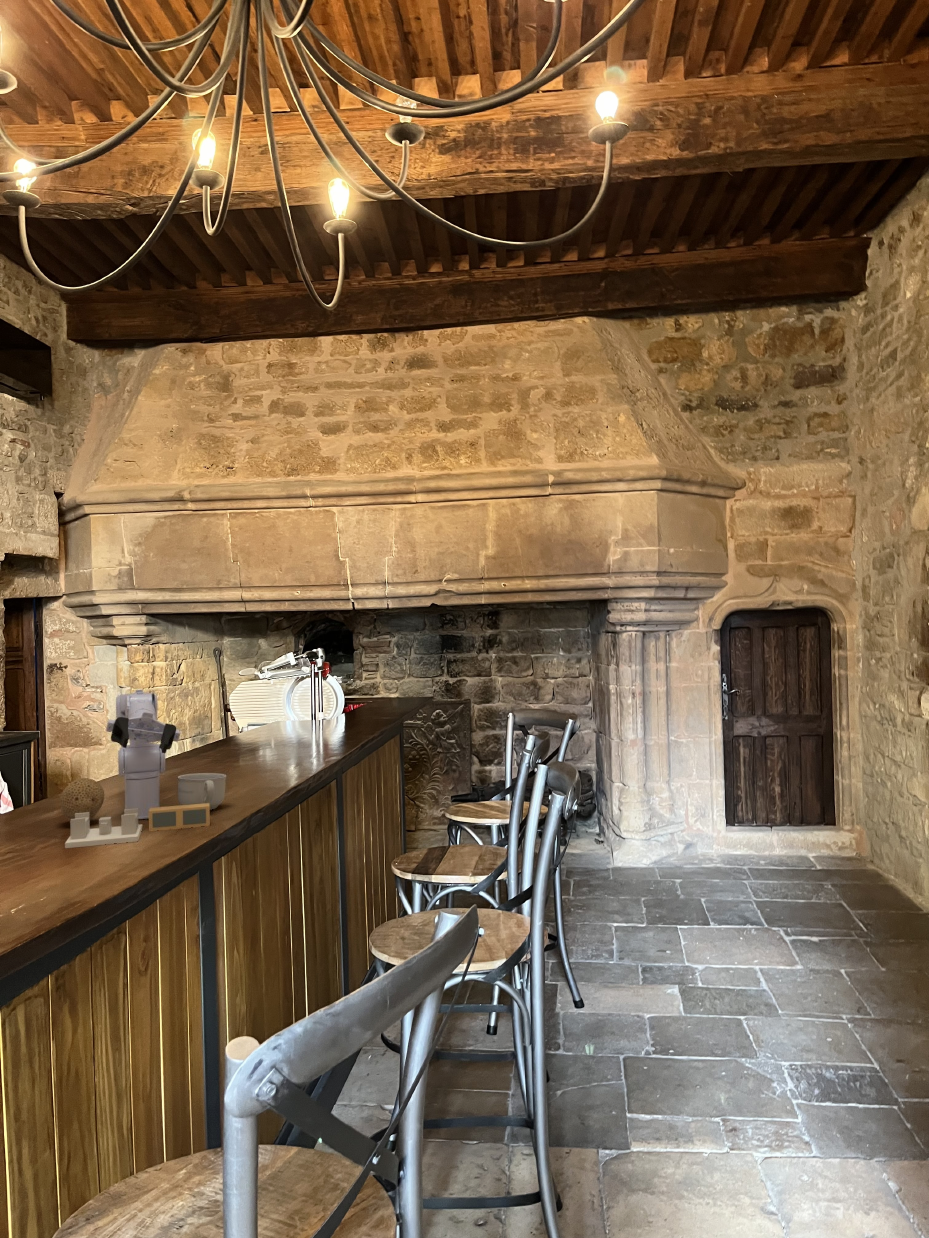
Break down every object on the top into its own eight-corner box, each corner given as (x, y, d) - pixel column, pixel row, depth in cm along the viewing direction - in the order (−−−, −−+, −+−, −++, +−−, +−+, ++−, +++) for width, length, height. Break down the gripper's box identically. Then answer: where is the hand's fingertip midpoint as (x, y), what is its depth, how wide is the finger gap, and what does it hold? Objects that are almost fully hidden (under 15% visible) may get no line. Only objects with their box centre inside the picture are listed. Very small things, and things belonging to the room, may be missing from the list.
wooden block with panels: (150, 828, 169) (150, 807, 169) (209, 823, 173) (209, 803, 173) (149, 832, 166) (148, 811, 166) (209, 827, 170) (209, 806, 170)
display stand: (74, 835, 164) (74, 811, 164) (142, 829, 168) (142, 805, 168) (65, 848, 154) (64, 822, 154) (137, 841, 158) (137, 816, 158)
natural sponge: (101, 826, 171) (101, 779, 171) (55, 830, 168) (55, 783, 169) (107, 817, 180) (106, 773, 180) (63, 821, 177) (62, 776, 177)
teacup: (177, 806, 190) (177, 773, 190) (225, 802, 194) (224, 769, 194) (178, 818, 177) (178, 782, 177) (229, 814, 181) (228, 778, 181)
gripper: (111, 698, 171) (112, 722, 159) (181, 710, 177) (187, 733, 165) (103, 729, 172) (103, 754, 160) (173, 739, 178) (178, 764, 166)
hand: (145, 745), depth 163 cm, fingers open, 7 cm apart
